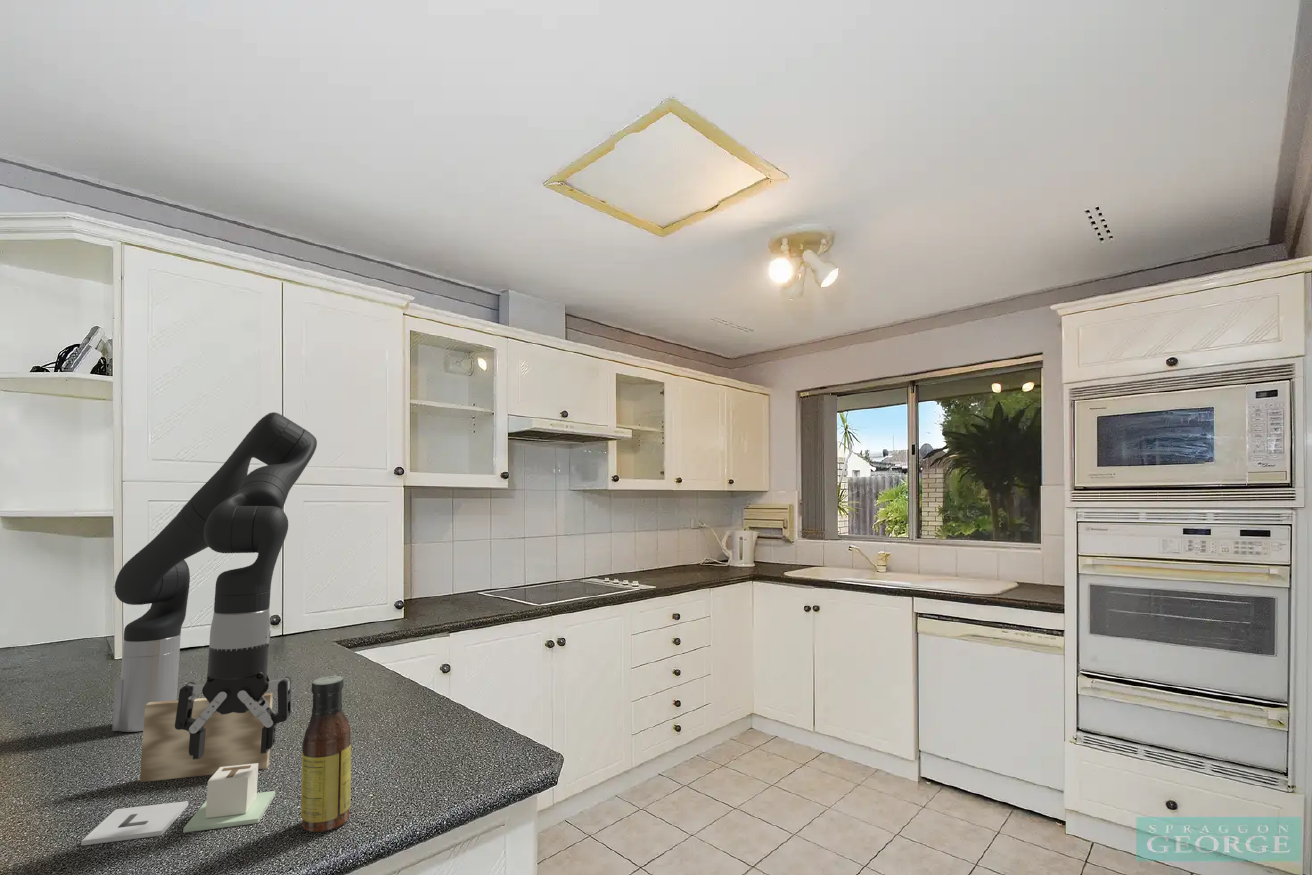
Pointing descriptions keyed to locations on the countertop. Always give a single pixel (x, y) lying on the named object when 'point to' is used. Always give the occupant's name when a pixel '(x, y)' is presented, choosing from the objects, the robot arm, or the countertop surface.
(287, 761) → the countertop surface
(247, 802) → the cube
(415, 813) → the countertop surface
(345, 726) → the sauce bottle
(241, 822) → the board
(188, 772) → the thin wooden plank
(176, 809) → the board
